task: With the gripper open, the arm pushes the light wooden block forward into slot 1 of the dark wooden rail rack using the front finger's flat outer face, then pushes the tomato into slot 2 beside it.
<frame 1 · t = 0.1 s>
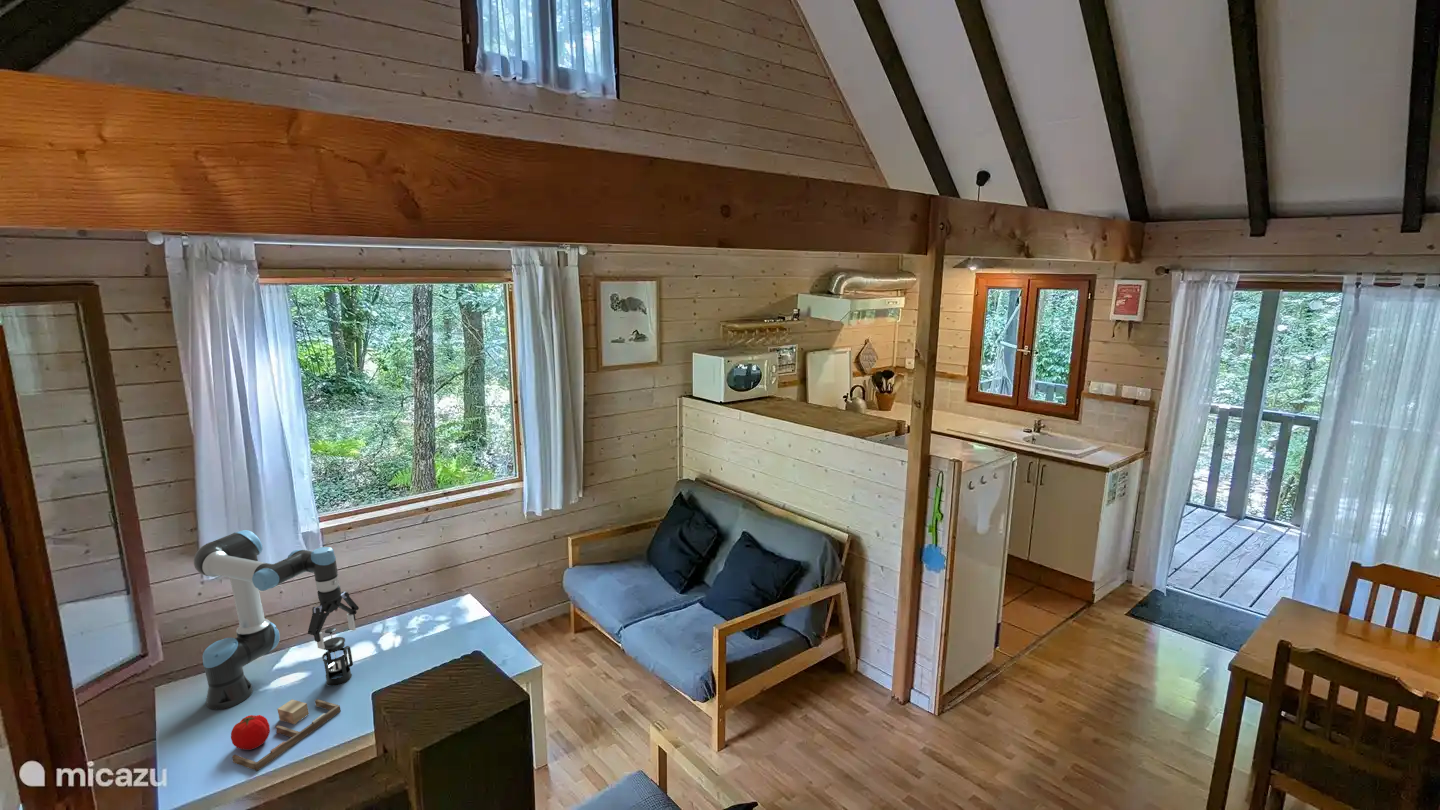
hand: (337, 638, 262), 28 cm above the table, fingers open, 13 cm apart
tomato: (253, 745, 246), on the table
rack: (289, 735, 250), on the table
light wooden block: (294, 717, 260), on the table
french press: (340, 679, 284), on the table
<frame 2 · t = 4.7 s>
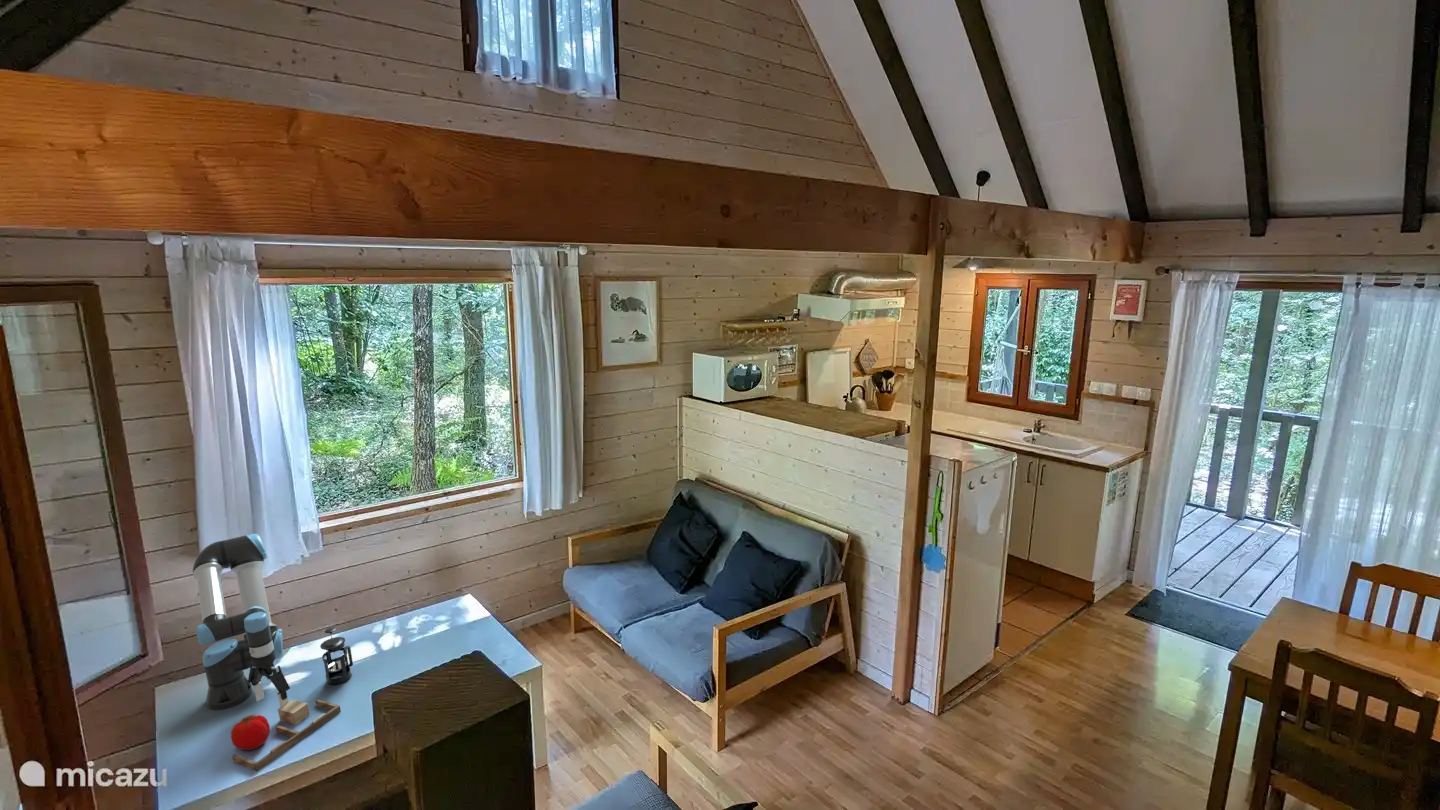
hand: (272, 702, 263), 4 cm above the table, fingers open, 13 cm apart
light wooden block: (295, 717, 260), on the table, touching gripper
everything else where it was.
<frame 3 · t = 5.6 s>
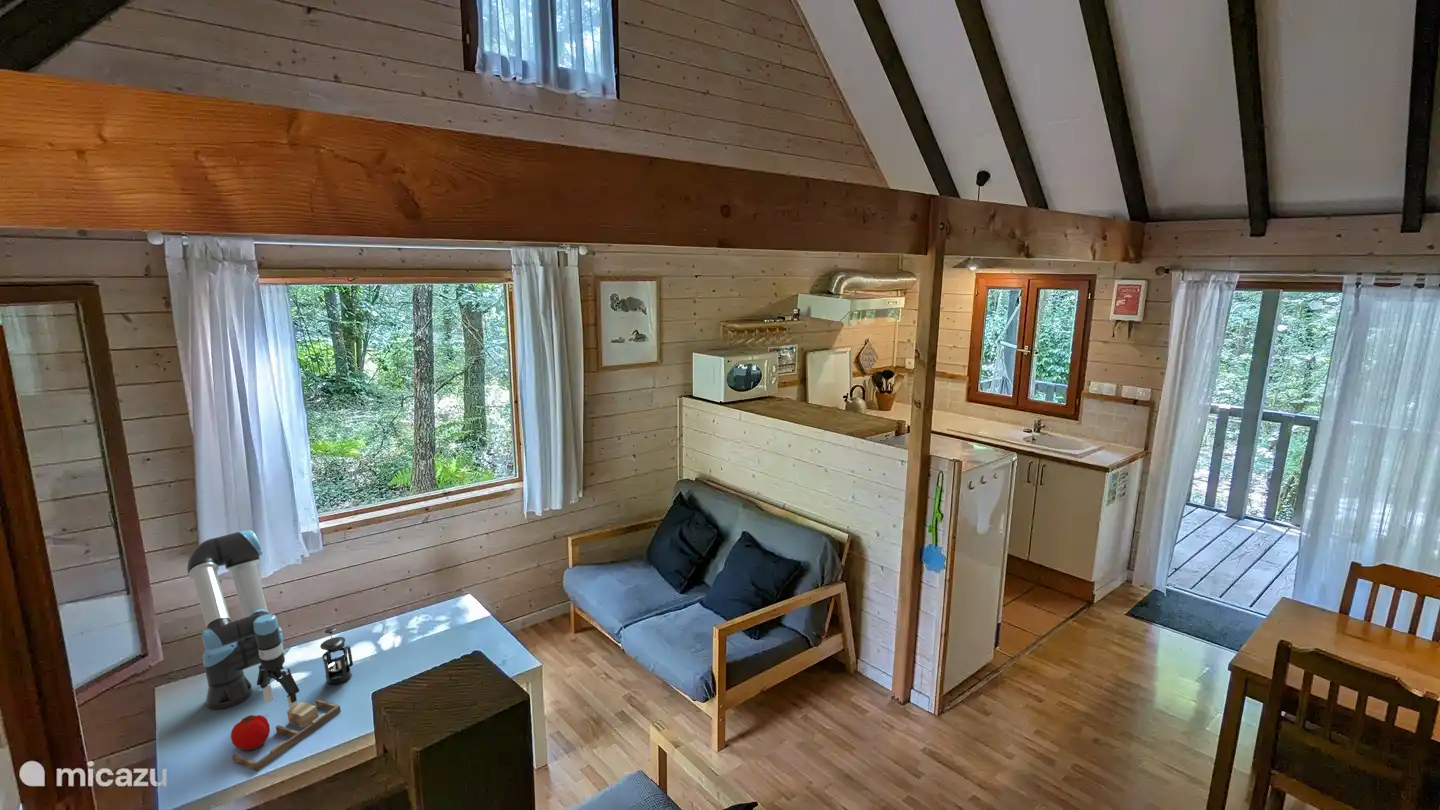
hand: (281, 705, 262), 4 cm above the table, fingers open, 13 cm apart
light wooden block: (303, 720, 258), on the table, touching gripper
everything else where it was.
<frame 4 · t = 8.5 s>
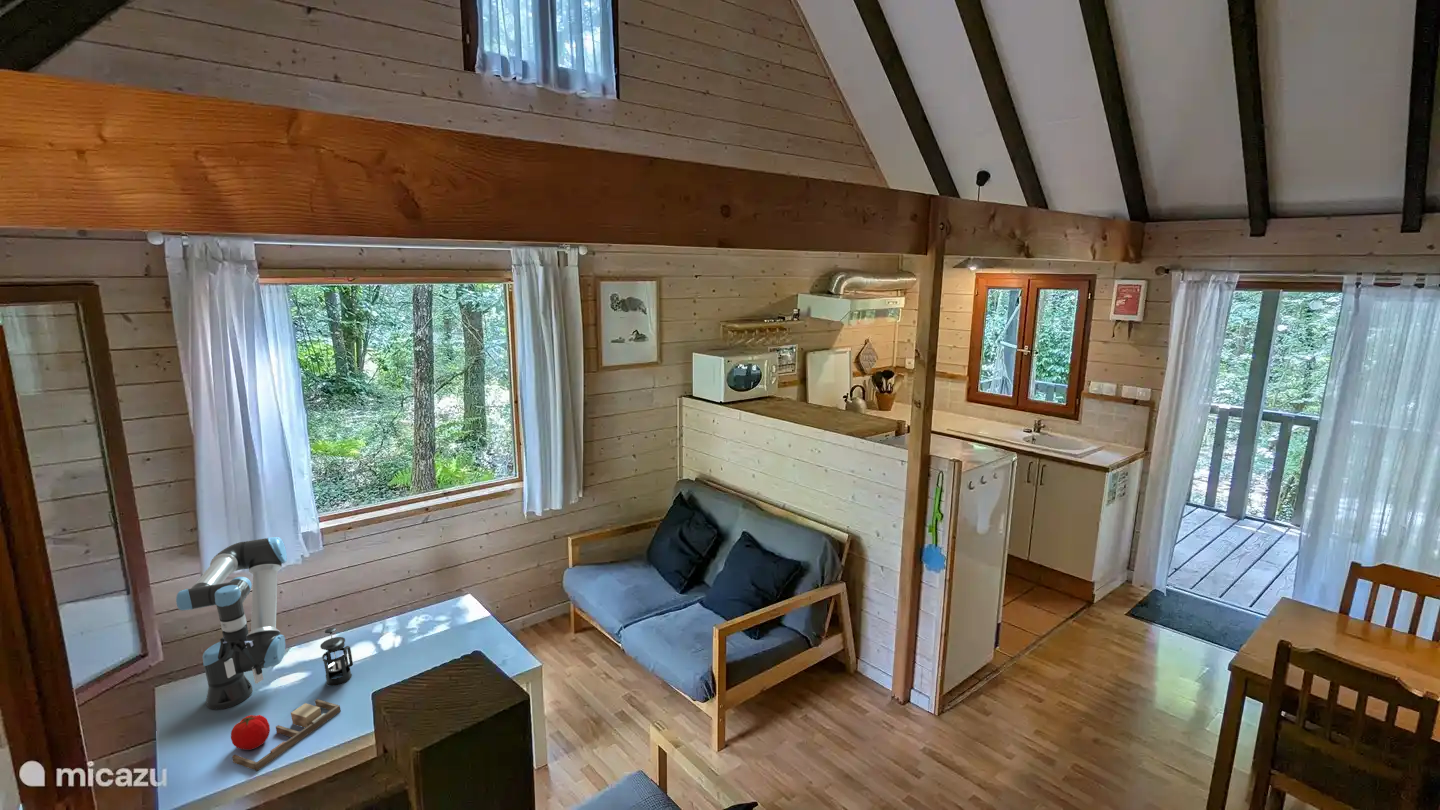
hand: (245, 678, 254), 19 cm above the table, fingers open, 13 cm apart
light wooden block: (307, 721, 258), on the table
everything else where it was.
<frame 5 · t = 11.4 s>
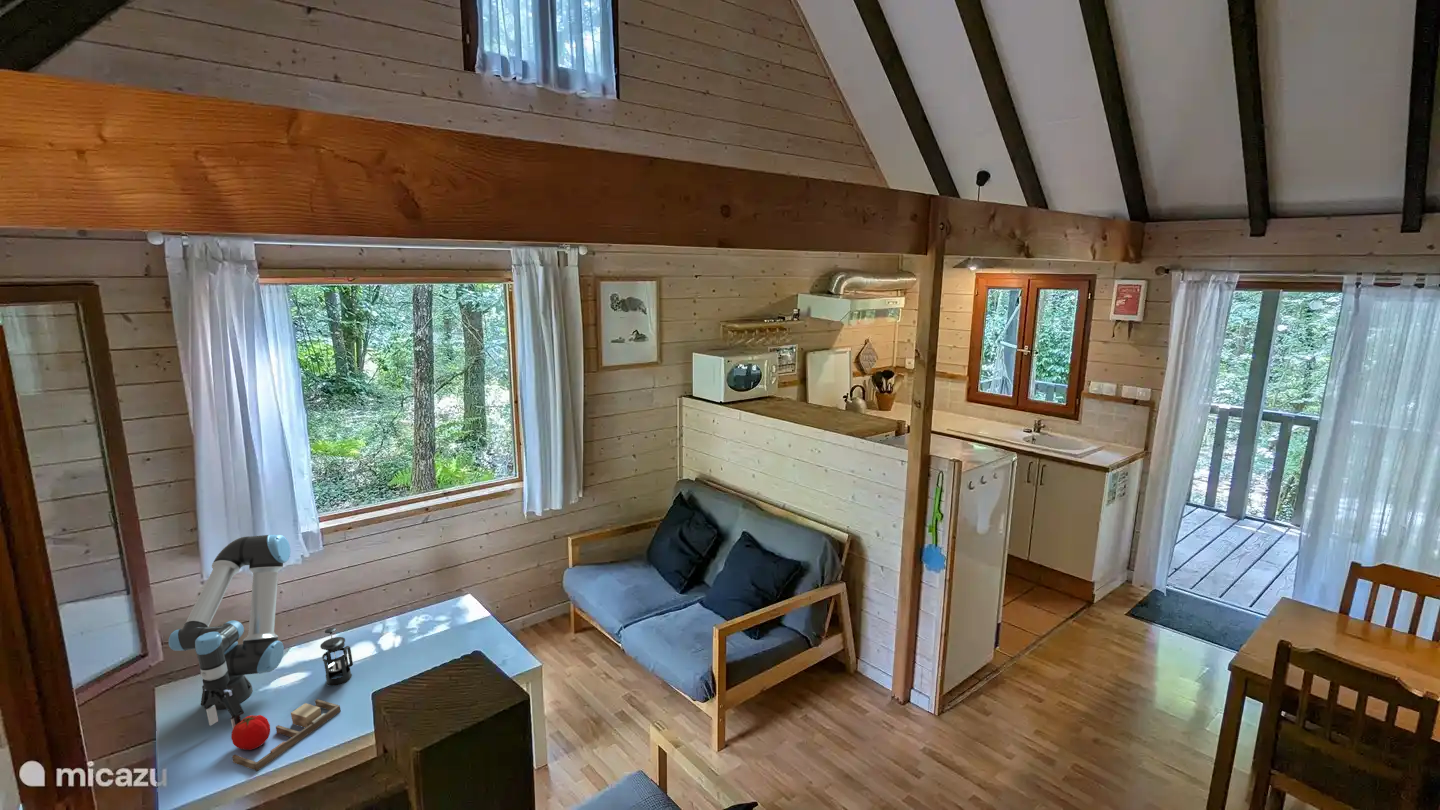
hand: (225, 727, 249), 4 cm above the table, fingers open, 13 cm apart
tomato: (253, 745, 246), on the table, touching gripper
everything else where it was.
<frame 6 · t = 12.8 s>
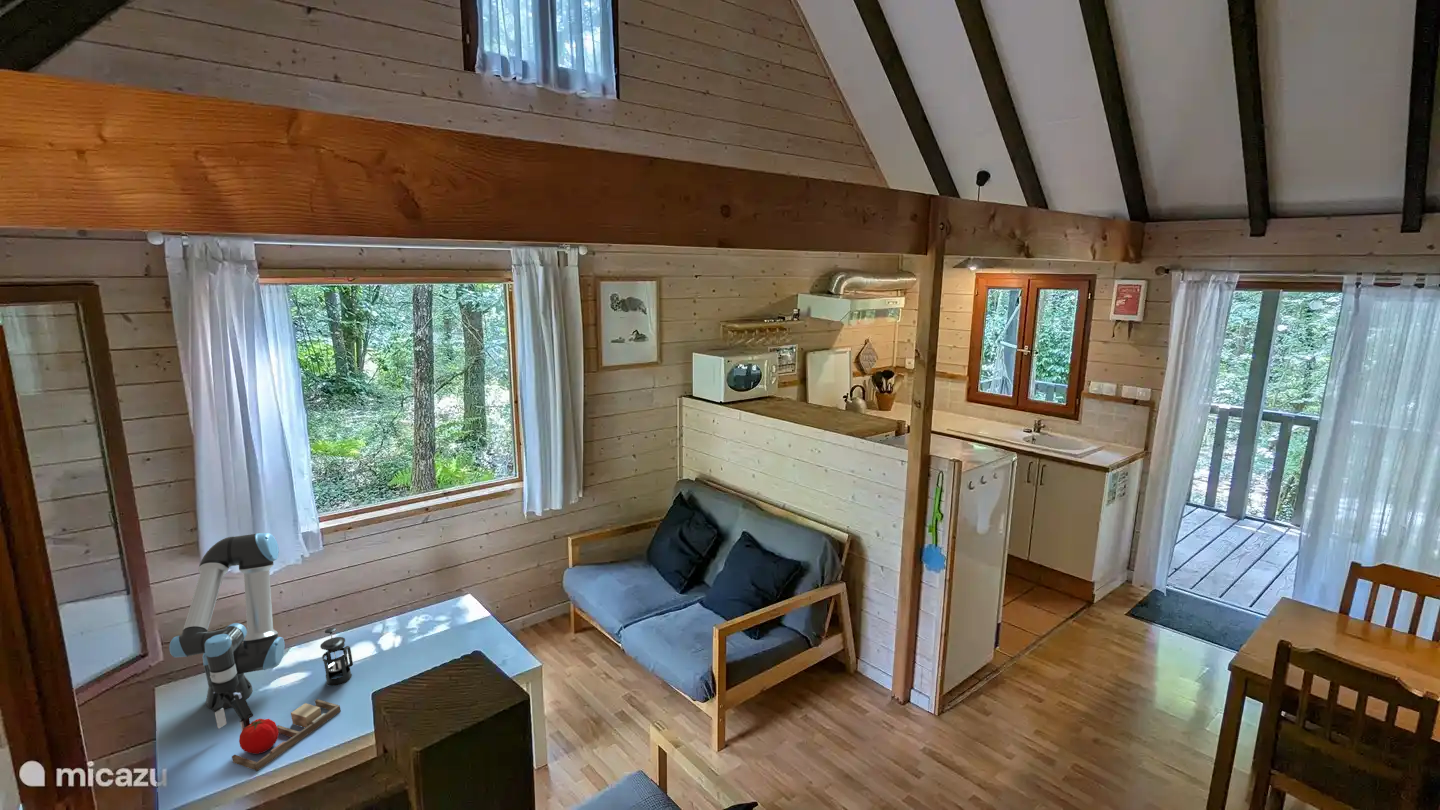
hand: (234, 730, 247), 4 cm above the table, fingers open, 13 cm apart
tomato: (261, 749, 244), on the table, touching gripper
everything else where it was.
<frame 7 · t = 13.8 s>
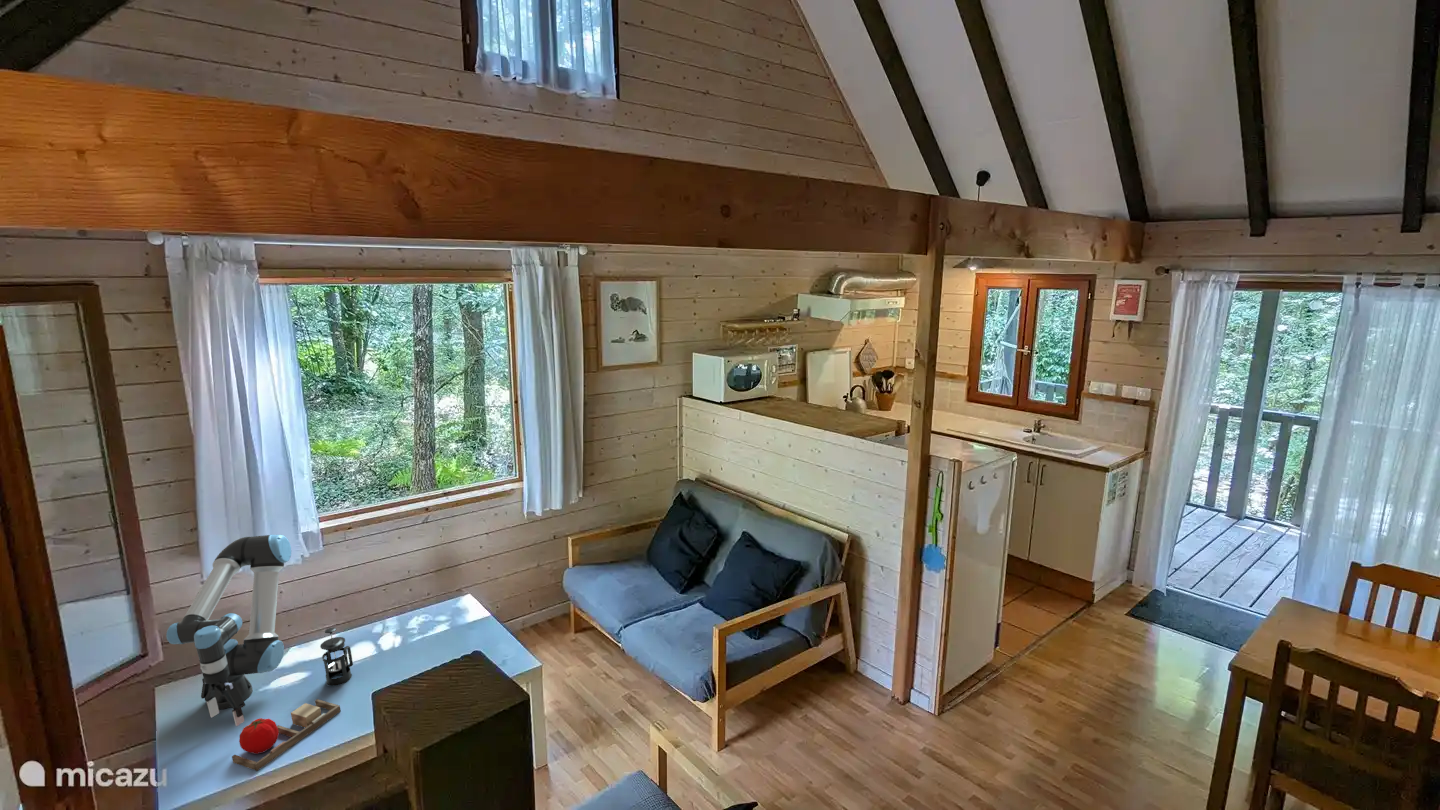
hand: (227, 719, 250), 7 cm above the table, fingers open, 13 cm apart
tomato: (261, 749, 244), on the table
everything else where it was.
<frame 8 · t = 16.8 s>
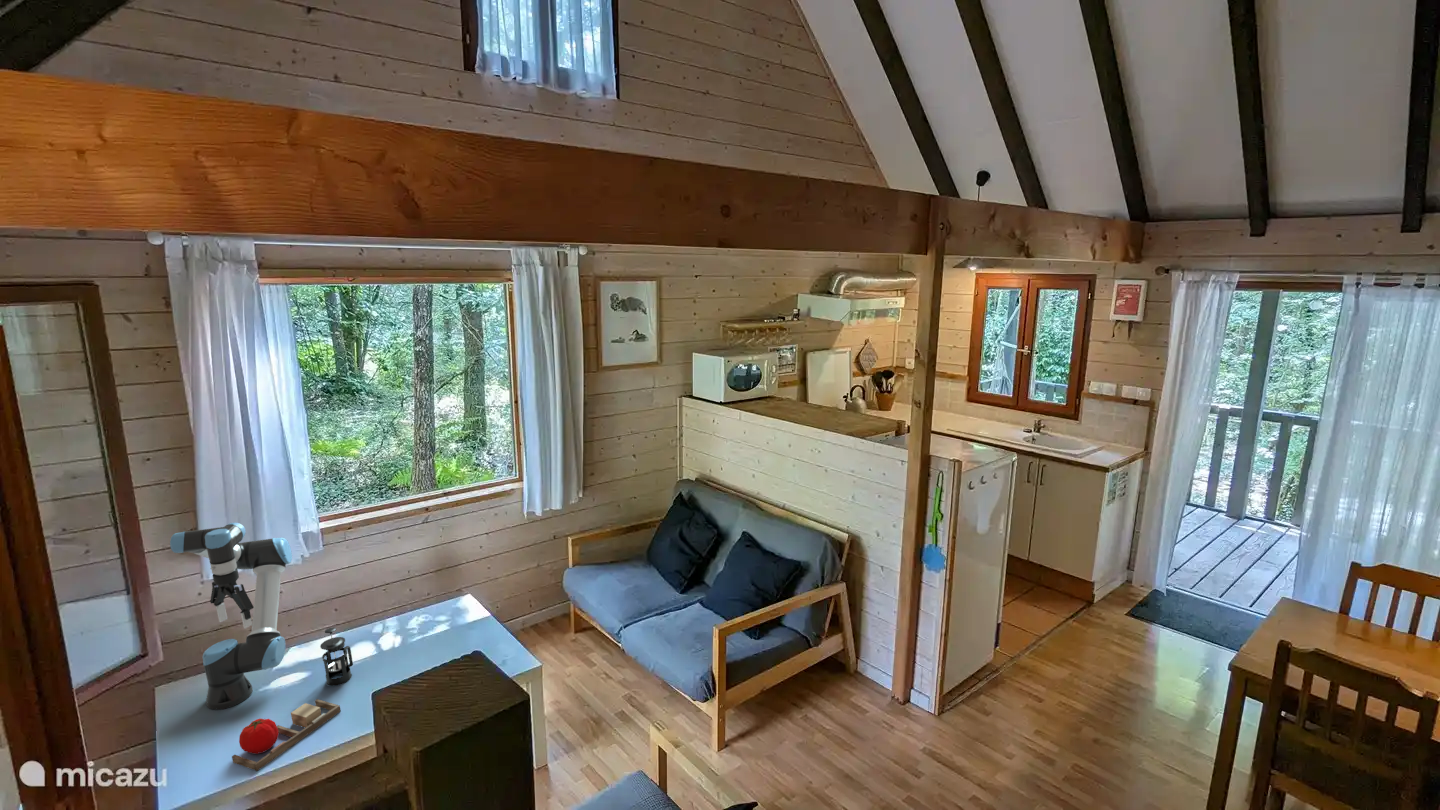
hand: (235, 623, 254), 39 cm above the table, fingers open, 13 cm apart
nothing on the table moved.
at the end: light wooden block inside the target area (1.0 cm from its centre), on the table; tomato inside the target area (2.9 cm from its centre), on the table; light wooden block tilted 0° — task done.
